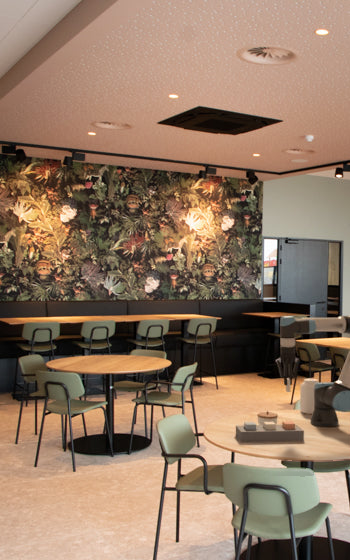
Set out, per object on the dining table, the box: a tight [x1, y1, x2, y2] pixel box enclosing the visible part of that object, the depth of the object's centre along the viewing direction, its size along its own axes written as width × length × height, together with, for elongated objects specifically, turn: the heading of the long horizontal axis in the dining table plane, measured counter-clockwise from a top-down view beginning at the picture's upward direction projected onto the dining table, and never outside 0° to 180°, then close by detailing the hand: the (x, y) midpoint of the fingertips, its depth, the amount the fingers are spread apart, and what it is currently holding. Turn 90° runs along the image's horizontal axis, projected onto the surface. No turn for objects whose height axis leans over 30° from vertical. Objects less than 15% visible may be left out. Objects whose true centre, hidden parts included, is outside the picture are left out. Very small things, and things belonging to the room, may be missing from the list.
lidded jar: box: [257, 410, 279, 425], centre depth 314 cm, size 11×11×9 cm
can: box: [299, 377, 319, 415], centre depth 354 cm, size 12×12×20 cm
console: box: [235, 424, 305, 443], centre depth 296 cm, size 32×12×5 cm, turn 97°
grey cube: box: [243, 421, 257, 430], centre depth 295 cm, size 5×5×5 cm
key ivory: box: [263, 422, 277, 430], centre depth 296 cm, size 5×5×5 cm
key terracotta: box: [281, 421, 296, 429], centre depth 297 cm, size 5×5×5 cm
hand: (288, 391), depth 303 cm, fingers closed
